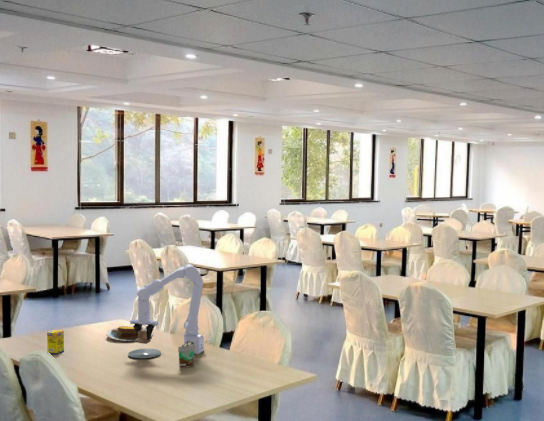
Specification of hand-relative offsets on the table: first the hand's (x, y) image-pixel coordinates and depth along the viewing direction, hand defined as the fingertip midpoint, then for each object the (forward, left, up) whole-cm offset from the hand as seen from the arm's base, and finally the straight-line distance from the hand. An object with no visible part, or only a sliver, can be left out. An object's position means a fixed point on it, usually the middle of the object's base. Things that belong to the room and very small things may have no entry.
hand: (144, 339), depth 334 cm
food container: (-28, +9, -8) cm, 31 cm away
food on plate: (+25, -30, -9) cm, 40 cm away
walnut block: (0, 0, -2) cm, 2 cm away
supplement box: (+45, +9, -8) cm, 47 cm away
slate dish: (0, 0, -8) cm, 8 cm away
